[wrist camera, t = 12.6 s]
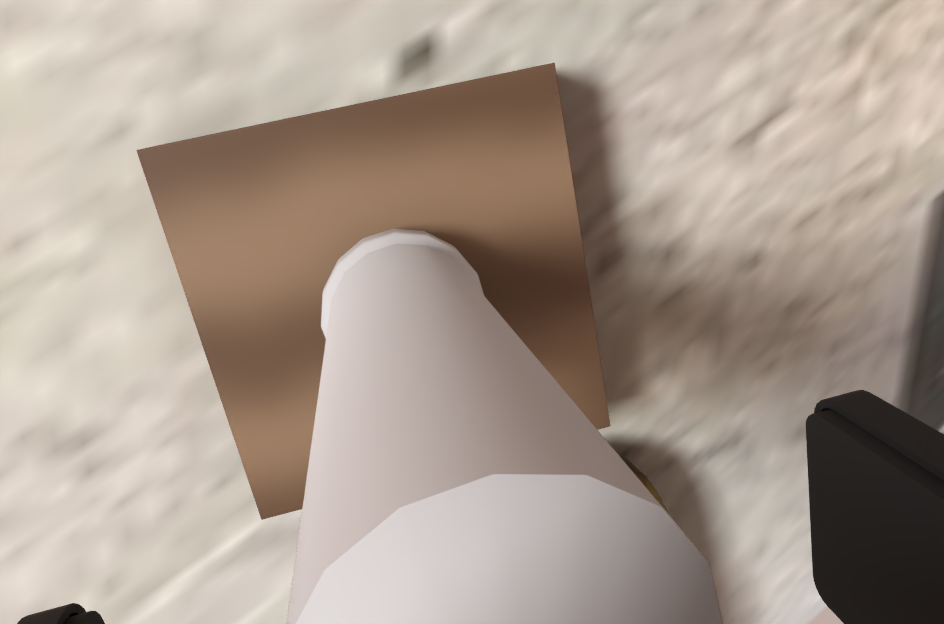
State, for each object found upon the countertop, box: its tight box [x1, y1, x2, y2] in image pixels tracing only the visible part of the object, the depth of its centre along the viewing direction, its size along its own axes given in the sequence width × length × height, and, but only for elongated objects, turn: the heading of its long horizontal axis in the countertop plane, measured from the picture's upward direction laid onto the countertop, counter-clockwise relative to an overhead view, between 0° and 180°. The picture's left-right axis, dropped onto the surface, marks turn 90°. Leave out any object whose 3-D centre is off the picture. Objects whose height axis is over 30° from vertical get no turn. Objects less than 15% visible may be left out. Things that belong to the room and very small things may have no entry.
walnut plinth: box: [137, 63, 610, 519], centre depth 25 cm, size 13×13×3 cm
